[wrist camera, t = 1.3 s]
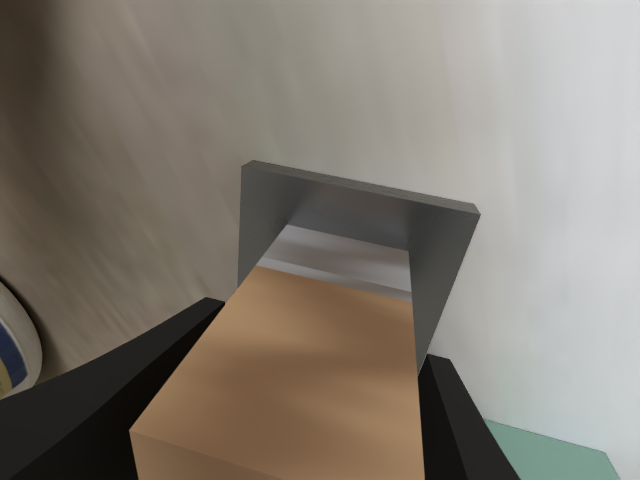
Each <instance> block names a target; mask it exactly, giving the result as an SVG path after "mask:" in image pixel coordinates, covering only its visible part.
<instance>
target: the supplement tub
mask: <svg viewBox="0 0 640 480" xmlns="http://www.w3.org/2000/svg"><path fill="white" fill-rule="evenodd" d="M41 366H42V349H41V343H40V339H39V336H38V334H37V331H36V329H35V327H34V325H33V323H32V321H31V319H30V317H29V316H28V314H27V313H26V311H25V309H24V308H23V307H22V305H21V304H20V303H19V301H18V300H17V299H16V298H15V297H14V295H13V294H12V293H11V292H10V291H9V290H8V289H7V288H6V287H5V286H4V285H3V284H2V283H1V282H0V400H1V399H3V398H6V397H8V396H11V395H14V394H16V393H19V392H21V391H24V390H26V389H29V388H32V386H33V385H34V384H35V382H36V381H37V379H38V377H39V374H40V371H41Z"/></svg>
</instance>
